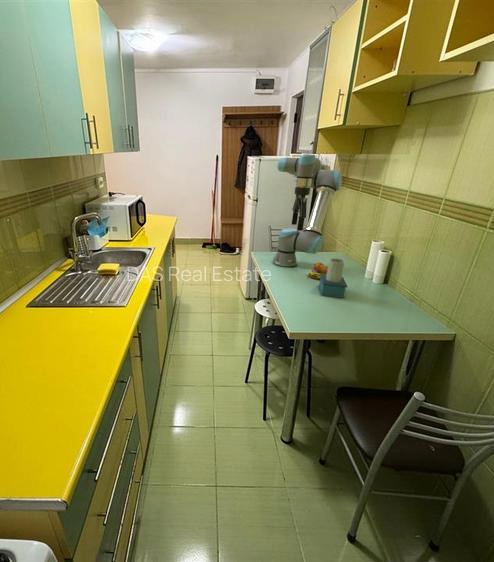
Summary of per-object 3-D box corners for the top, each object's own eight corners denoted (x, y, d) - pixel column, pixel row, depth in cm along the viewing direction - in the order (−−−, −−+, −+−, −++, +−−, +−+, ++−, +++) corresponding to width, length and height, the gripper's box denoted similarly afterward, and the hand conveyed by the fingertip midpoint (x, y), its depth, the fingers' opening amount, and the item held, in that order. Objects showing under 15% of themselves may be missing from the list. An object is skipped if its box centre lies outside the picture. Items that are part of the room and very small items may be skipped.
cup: (324, 276, 166) (328, 257, 161) (339, 278, 164) (343, 259, 160) (326, 281, 159) (330, 262, 155) (341, 283, 158) (346, 263, 153)
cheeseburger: (306, 272, 190) (313, 258, 185) (323, 278, 188) (330, 264, 183) (306, 277, 181) (313, 263, 176) (323, 284, 179) (331, 269, 174)
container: (318, 285, 172) (320, 274, 169) (340, 288, 169) (342, 276, 166) (320, 295, 160) (323, 283, 157) (344, 298, 158) (347, 286, 155)
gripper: (290, 183, 167) (285, 221, 176) (301, 189, 145) (294, 232, 153) (304, 184, 167) (298, 222, 176) (317, 190, 144) (309, 233, 153)
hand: (296, 227), depth 164 cm, fingers open, 13 cm apart
